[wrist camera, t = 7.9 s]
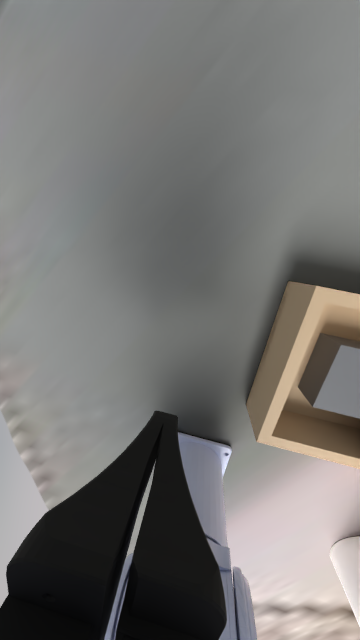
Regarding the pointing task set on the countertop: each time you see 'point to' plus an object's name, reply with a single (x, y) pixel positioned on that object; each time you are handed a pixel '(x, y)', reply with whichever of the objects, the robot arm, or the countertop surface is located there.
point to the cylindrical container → (348, 569)
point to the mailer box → (311, 376)
